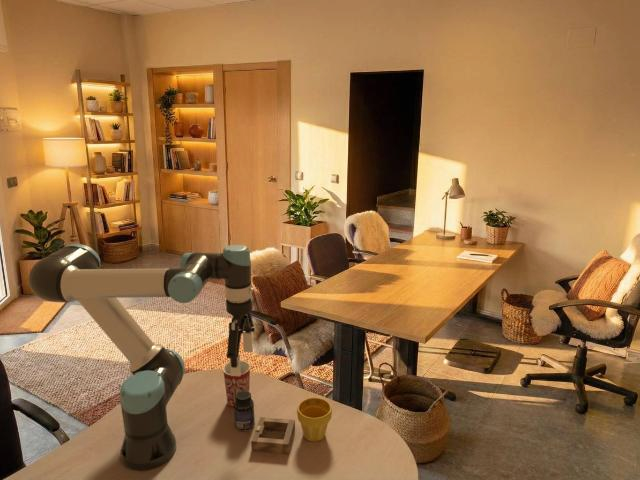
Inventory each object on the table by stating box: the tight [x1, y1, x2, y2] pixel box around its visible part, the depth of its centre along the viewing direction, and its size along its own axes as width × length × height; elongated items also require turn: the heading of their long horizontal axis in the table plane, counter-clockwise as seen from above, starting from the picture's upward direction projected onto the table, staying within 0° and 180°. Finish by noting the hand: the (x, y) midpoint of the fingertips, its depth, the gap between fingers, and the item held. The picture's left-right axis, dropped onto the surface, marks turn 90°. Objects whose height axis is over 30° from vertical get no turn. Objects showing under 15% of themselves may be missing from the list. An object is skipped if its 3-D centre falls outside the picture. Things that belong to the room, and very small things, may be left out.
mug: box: [222, 360, 252, 409], centre depth 165 cm, size 13×9×14 cm
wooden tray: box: [250, 416, 296, 455], centre depth 147 cm, size 11×11×4 cm
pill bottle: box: [233, 391, 256, 432], centre depth 152 cm, size 6×6×11 cm
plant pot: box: [296, 396, 333, 442], centre depth 148 cm, size 10×10×10 cm
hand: (242, 363), depth 147 cm, fingers open, 13 cm apart
